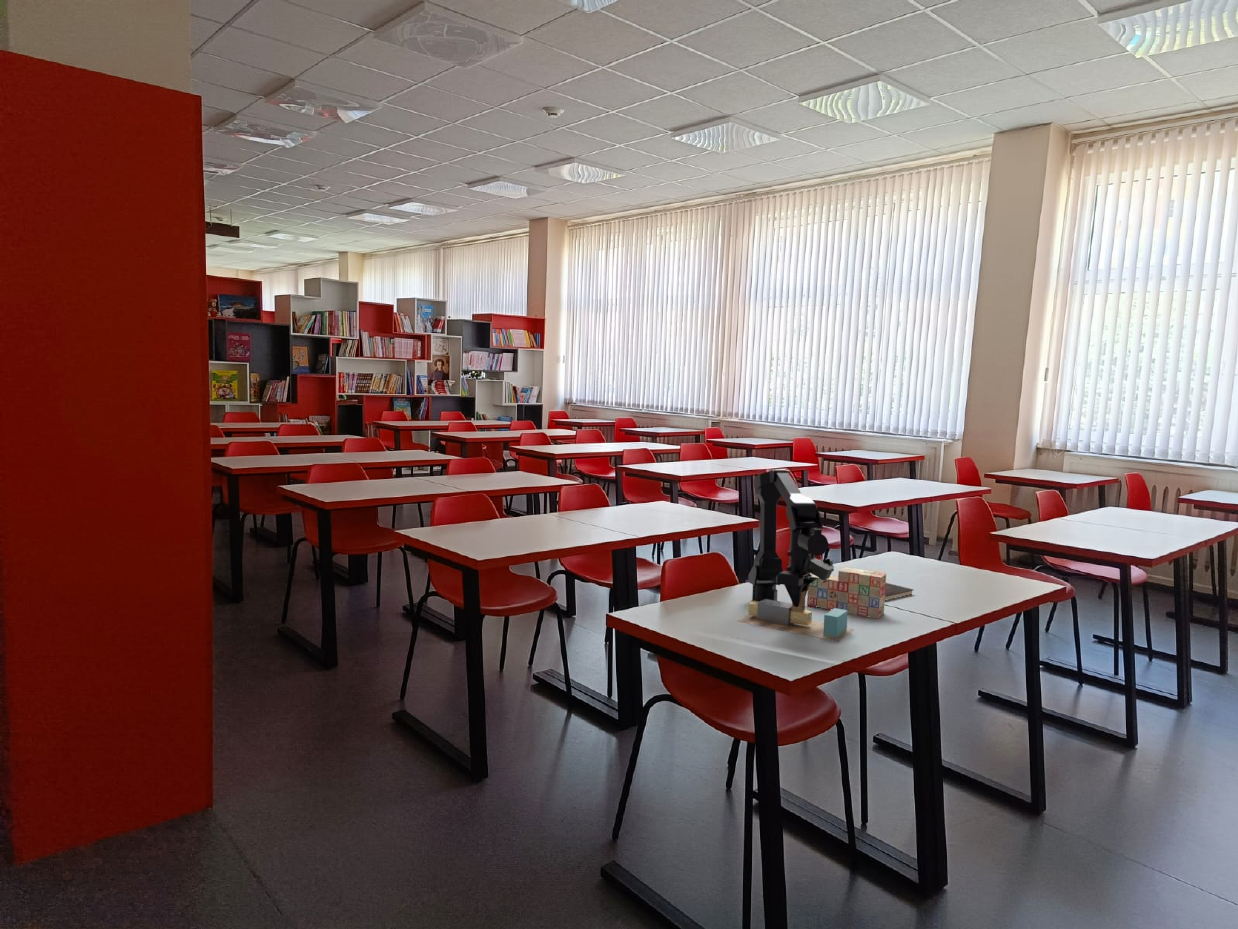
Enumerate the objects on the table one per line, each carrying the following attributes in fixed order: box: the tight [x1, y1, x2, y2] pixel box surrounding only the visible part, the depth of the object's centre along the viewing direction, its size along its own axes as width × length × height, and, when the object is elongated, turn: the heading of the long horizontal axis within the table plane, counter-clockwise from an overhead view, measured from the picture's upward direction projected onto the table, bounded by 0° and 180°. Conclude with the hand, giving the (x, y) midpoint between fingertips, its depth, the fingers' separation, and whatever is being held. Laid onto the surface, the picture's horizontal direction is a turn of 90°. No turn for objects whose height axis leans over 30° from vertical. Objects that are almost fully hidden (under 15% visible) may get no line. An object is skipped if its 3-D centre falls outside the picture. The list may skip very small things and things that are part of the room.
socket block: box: [823, 608, 849, 638], centre depth 197 cm, size 4×8×5 cm, turn 145°
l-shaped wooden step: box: [748, 590, 813, 626], centre depth 206 cm, size 17×3×9 cm, turn 55°
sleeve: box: [757, 599, 793, 626], centre depth 207 cm, size 9×5×5 cm, turn 55°
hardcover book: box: [885, 582, 914, 601], centre depth 248 cm, size 16×23×2 cm
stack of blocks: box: [806, 566, 887, 619], centre depth 223 cm, size 21×6×12 cm, turn 56°
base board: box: [737, 614, 855, 642], centre depth 204 cm, size 28×13×1 cm, turn 55°
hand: (798, 605), depth 203 cm, fingers closed on l-shaped wooden step, 3 cm apart
